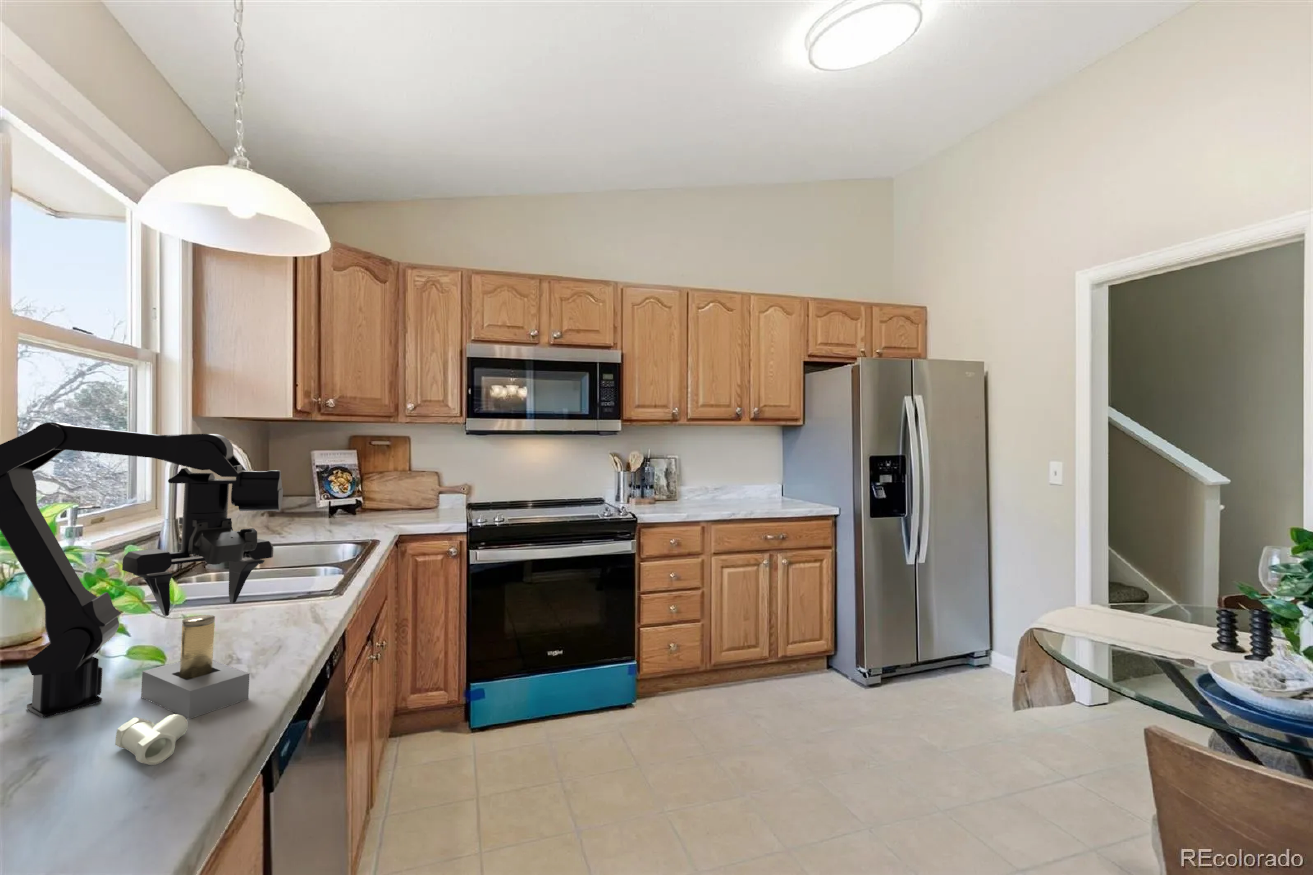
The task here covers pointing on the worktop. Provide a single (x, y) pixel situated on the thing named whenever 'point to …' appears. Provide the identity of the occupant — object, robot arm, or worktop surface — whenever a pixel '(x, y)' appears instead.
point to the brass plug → (197, 646)
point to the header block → (195, 689)
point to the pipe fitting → (151, 737)
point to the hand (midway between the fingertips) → (200, 608)
